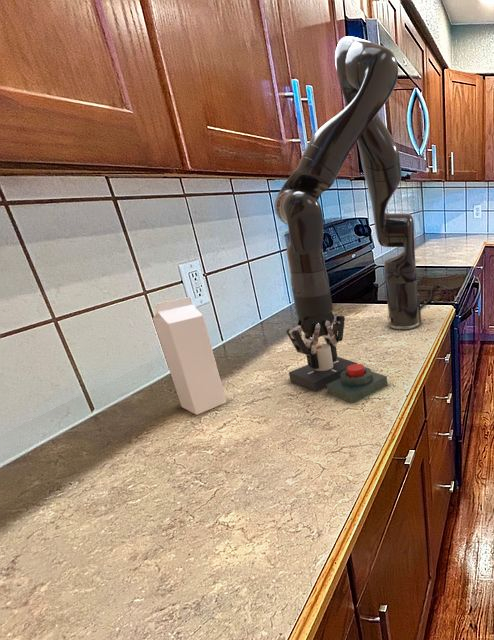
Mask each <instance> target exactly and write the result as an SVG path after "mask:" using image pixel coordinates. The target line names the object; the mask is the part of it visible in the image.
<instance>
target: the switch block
mask: <svg viewBox="0 0 494 640" xmlns="http://www.w3.org/2000/svg"><path fill="white" fill-rule="evenodd" d="M364 370H365V375H362V376H359V377H349V376H348V374H347V369H346V370H344V371H342V373H341V374H340V378H339V379H337V380H335V381H333V382H331V383H329V384H326V386H327V387H326V391H327V394H328V395H331V396H332V397H336V398H338V399H341V400H343V401H346V402H348V403H351V404H355V403H356V402H359V401H360V400H362V399H364V398H366V397H368V396H369V395H371V394H373V393H375V392H377V391H380V390H381V389H383V388H384V387H387V386H388V385H389V384H388V378H387V376H386V375H384V374H381V373H377V372H374V371H373V370H372V369H371V368H370V367H366V366H364Z"/></svg>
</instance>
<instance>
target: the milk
mask: <svg viewBox="0 0 494 640" xmlns="http://www.w3.org/2000/svg"><path fill="white" fill-rule="evenodd" d="M154 305H155V309H156V313H155V314H154V316H153V317H152V321H153V324H154V327H155V330H156V333H157V336H158V339H159V342H160V345H161V348H162V351H163V354H164V358H165V361H166V365H167V367H168V370H169V373H170V376H171V379H172V383H173V385H174V388H175V392H176V394H177V397H178V400H179V404H180V407H181V408H182V409H185V410H187V411H188V412H190V413H192V414H194V415H196V416H198V415H200V414H203V413H205V412H207V411H210V410H212V409H214V408H217V407H219V406H222V405H224V404H226V403H227V398H226V395H225V391H224V387H223V384H222V381H221V376H220V372H219V369H218V365H217V362H216V358H215V354H214V351H213V348H212V344H211V340H210V335H209V333H208V329H207V325H206V322H205V318H204V314H202V313H201V311H200V310H198V308H197V307H196V306H195V305H194V304H193V301H192V298H191V297H190V296H188V297H187V296H185V297H182V298H177V299H172V300H168V301H163V302H158V303H156V304H154Z"/></svg>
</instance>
